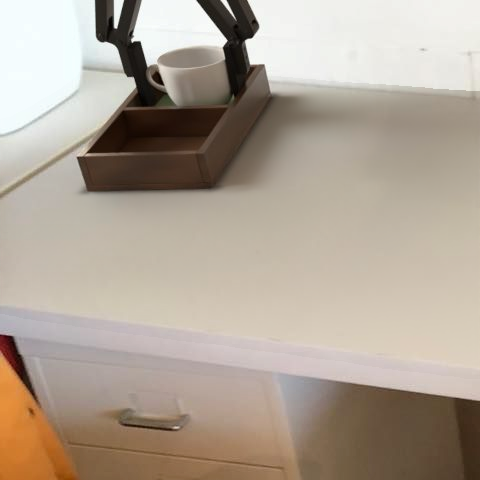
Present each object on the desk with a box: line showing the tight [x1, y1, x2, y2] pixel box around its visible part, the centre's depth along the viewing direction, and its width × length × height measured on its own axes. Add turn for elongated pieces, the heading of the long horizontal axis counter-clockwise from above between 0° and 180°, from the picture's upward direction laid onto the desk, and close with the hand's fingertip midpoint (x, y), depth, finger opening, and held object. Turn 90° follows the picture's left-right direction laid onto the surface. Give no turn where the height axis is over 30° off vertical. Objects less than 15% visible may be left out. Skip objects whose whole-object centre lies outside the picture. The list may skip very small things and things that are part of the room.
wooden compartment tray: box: [76, 63, 272, 192], centre depth 141 cm, size 13×25×4 cm, turn 178°
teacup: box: [146, 44, 233, 106], centre depth 144 cm, size 10×8×5 cm
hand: (196, 104), depth 145 cm, fingers closed on teacup, 10 cm apart
